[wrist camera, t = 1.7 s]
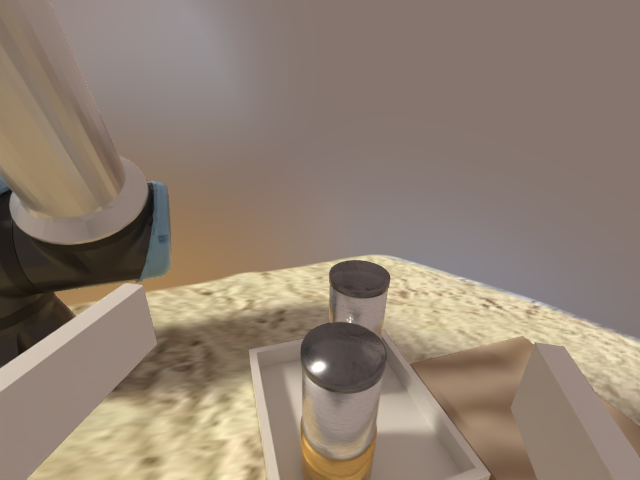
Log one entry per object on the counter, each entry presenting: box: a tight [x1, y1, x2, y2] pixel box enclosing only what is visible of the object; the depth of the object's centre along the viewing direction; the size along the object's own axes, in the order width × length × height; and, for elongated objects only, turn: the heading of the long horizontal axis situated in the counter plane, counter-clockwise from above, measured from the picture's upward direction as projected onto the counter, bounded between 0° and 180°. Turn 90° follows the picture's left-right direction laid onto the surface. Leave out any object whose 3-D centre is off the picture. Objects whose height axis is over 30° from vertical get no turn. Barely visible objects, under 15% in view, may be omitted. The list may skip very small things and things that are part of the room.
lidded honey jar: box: [300, 322, 387, 480], centre depth 26 cm, size 6×6×14 cm
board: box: [410, 336, 640, 480], centre depth 36 cm, size 16×18×2 cm
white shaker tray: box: [249, 329, 491, 480], centre depth 33 cm, size 20×18×4 cm
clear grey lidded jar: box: [329, 260, 390, 342], centre depth 36 cm, size 6×6×14 cm
